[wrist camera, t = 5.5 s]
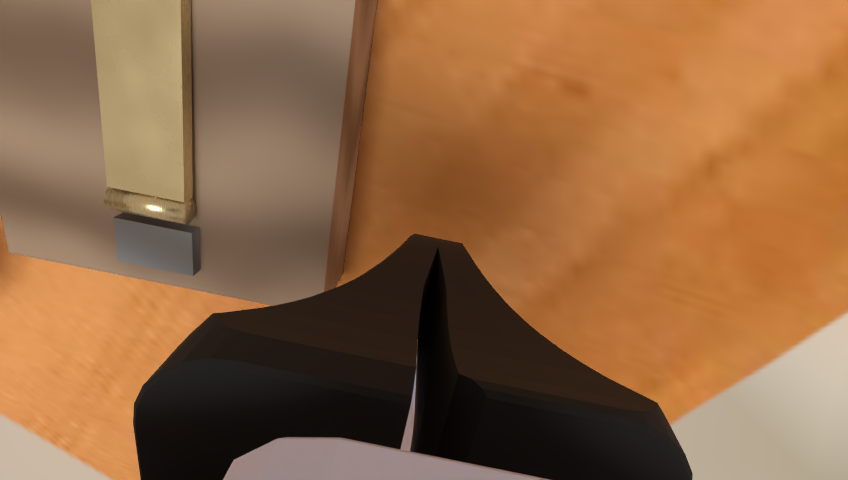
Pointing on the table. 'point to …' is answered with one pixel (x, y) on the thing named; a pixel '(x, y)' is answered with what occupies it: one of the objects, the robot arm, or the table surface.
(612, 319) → the table surface
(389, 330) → the robot arm
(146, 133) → the hasp
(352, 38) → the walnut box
